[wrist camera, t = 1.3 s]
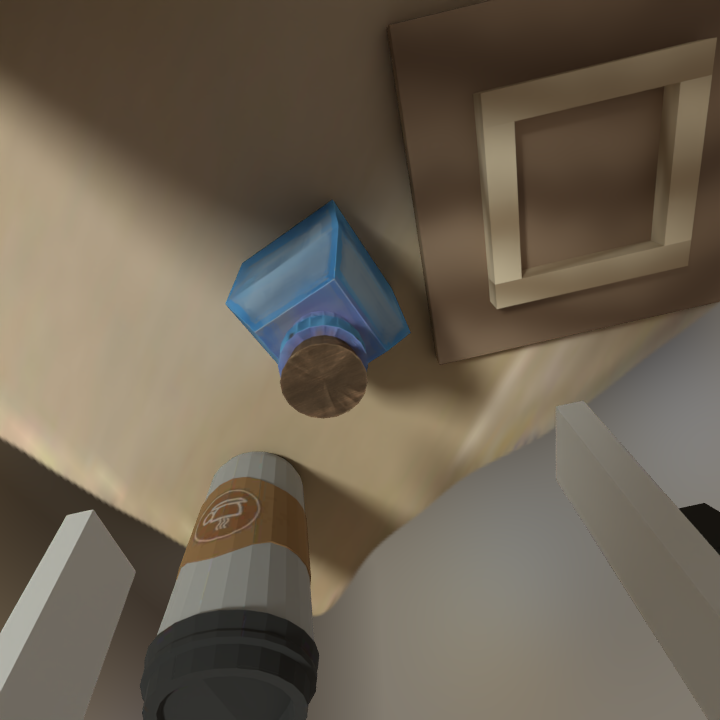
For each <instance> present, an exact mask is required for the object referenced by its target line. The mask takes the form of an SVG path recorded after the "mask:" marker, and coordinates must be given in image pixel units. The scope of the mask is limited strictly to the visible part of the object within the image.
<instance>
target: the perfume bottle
mask: <svg viewBox="0 0 720 720" xmlns="http://www.w3.org/2000/svg"><path fill="white" fill-rule="evenodd" d="M226 305H227V306H228V308H229V309H230V310H231V311H232V312H233V313H234V314H235V316H236V317H237V318H238V319H239V320H240V321H241V322H242V324H243V325H244V326H245V327H246V328H247V329H248V330H249V332H250V333H251V334H252V335H253V336H254V337H255V338H256V340H257V341H258V342H259V343H260V344H261V345H262V346H263V348H264V349H265V350H266V351H267V352H268V353H269V354H270V356H271V357H272V358H273V359H274V360H275V361H276V362H277V364H278V368H279V373H280V377H281V380H280V384H281V389H282V393H283V395H284V397H285V399H286V400H287V402H288V403H289V405H291V406H292V407H293V408H294V409H296V410H297V411H298V412H300V413H302V414H305V415H307V416H310V417H316V418H330V417H337V416H339V415H342V414H344V413H346V412H349V411H350V410H351V409H352V408H353V407H355V406H356V405H357V404H358V403H359V402H360V400H361V399H362V397H363V396H364V394H365V391H366V387H367V383H368V381H367V373H366V372H367V368H368V363H369V362H371V361H372V360H374V359H375V358H377V357H379V356H380V355H382V354H384V353H385V352H387V351H388V350H389V349H391V348H392V347H393V346H394V345H396V344H397V343H398V342H400V341H401V340H402V339H403V338H405V337H406V336H407V335H408V334H410V333H411V332H410V330H409V327H408V325H407V323H406V320H405V318H404V316H403V313H402V311H401V309H400V307H399V304H398V302H397V300H396V297H395V295H394V293H393V290H392V288H391V287H390V285H389V284H388V282H387V281H386V279H385V278H384V276H383V275H382V273H381V272H380V270H379V269H378V267H377V266H376V264H375V263H374V261H373V260H372V258H371V257H370V255H369V254H368V252H367V251H366V249H365V248H364V246H363V245H362V243H361V242H360V240H359V239H358V237H357V236H356V234H355V233H354V231H353V230H352V228H351V226H350V225H349V223H348V222H347V220H346V219H345V217H344V216H343V214H342V213H341V211H340V210H339V208H338V207H337V205H336V204H335V202H334V201H333V200H331V201H330V202H328V203H327V204H326V205H324V206H323V207H321V208H320V209H318V210H317V211H316V212H314V213H313V214H311V215H310V216H309V217H307V218H306V219H304V220H303V221H302V222H300V223H299V224H297V225H296V226H294V227H293V228H292V229H290V230H289V231H287V232H286V233H285V234H283V235H282V236H280V237H279V238H278V239H276V240H275V241H273V242H272V243H270V244H269V245H268V246H266V247H265V248H263V249H262V250H261V251H259V252H258V253H256V254H255V255H253V256H252V257H251V258H249V259H248V260H246V261H245V262H244V263H242V265H241V268H240V270H239V273H238V275H237V277H236V280H235V282H234V285H233V287H232V289H231V292H230V294H229V297H228V299H227V301H226Z"/></svg>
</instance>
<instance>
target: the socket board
mask: <svg viewBox="0 0 720 720" xmlns="http://www.w3.org/2000/svg"><path fill="white" fill-rule="evenodd" d="M387 34H388V40H389V47H390V54H391V60H392V67H393V74H394V80H395V87H396V94H397V100H398V107H399V114H400V120H401V127H402V134H403V140H404V147H405V154H406V160H407V167H408V174H409V180H410V187H411V194H412V200H413V207H414V214H415V220H416V227H417V234H418V240H419V247H420V254H421V260H422V267H423V274H424V280H425V287H426V294H427V300H428V307H429V314H430V320H431V327H432V334H433V340H434V347H435V354H436V358H437V360H438V362H439V364H440V365H441V364H445V363H450V362H454V361H459V360H463V359H468V358H472V357H476V356H481V355H485V354H490V353H494V352H498V351H503V350H507V349H512V348H516V347H521V346H525V345H529V344H534V343H538V342H543V341H547V340H552V339H556V338H560V337H565V336H569V335H574V334H578V333H583V332H587V331H591V330H596V329H600V328H605V327H609V326H613V325H618V324H622V323H627V322H631V321H636V320H640V319H644V318H649V317H653V316H658V315H662V314H667V313H671V312H675V311H680V310H684V309H689V308H693V307H697V306H702V305H706V304H711V303H715V302H720V0H491V1H486V2H482V3H478V4H474V5H470V6H466V7H462V8H457V9H453V10H449V11H445V12H441V13H437V14H432V15H428V16H424V17H420V18H416V19H412V20H408V21H403V22H399V23H395V24H391V25H389V26H388V27H387Z"/></svg>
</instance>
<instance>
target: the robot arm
mask: <svg viewBox="0 0 720 720" xmlns="http://www.w3.org/2000/svg"><path fill="white" fill-rule="evenodd" d="M556 480H557V482H558V484H559V485H560V487H561V488H562V490H563V492H564V493H565V495H566V496H567V498H568V499H569V501H570V503H571V504H572V506H573V507H574V509H575V511H576V512H577V513H578V515H579V517H580V518H581V520H582V522H583V523H584V525H585V526H586V528H587V529H588V531H589V533H590V534H591V536H592V537H593V539H594V541H595V542H596V544H597V545H598V547H599V548H600V550H601V552H602V553H603V555H604V556H605V558H606V560H607V561H608V563H609V564H610V566H611V567H612V569H613V571H614V572H615V574H616V575H617V577H618V579H619V580H620V582H621V583H622V585H623V586H624V588H625V590H626V591H627V592H628V594H629V596H630V597H631V599H632V601H633V602H634V604H635V605H636V607H637V609H638V610H639V612H640V613H641V615H642V616H643V618H644V620H645V621H646V622H647V624H648V626H649V627H650V629H651V630H652V632H653V634H654V635H655V637H656V638H657V640H658V642H659V643H660V645H661V646H662V648H663V650H664V651H665V653H666V654H667V656H668V657H669V659H670V661H671V662H672V664H673V665H674V667H675V669H676V670H677V672H678V673H679V675H680V676H681V678H682V680H683V681H684V683H685V684H686V686H687V687H688V689H689V691H690V692H691V694H692V695H693V697H694V698H695V700H696V702H697V703H698V705H699V706H700V708H701V709H702V711H703V713H704V714H705V716H706V717H707V719H708V720H720V512H719V511H717V510H715V509H714V508H712V507H710V506H709V505H707V504H705V503H703V504H698V505H693V506H688V507H684V508H679V509H678V508H677V506H676V505H675V504H674V503H673V502H672V501H671V500H670V499H669V497H668V496H667V495H666V494H665V493H664V492H663V491H662V489H661V488H660V487H659V486H658V485H657V484H656V483H655V481H654V480H653V479H652V478H651V477H650V476H649V475H648V473H647V472H646V471H645V470H644V469H643V468H642V467H641V466H640V464H639V463H638V462H637V461H636V460H635V459H634V458H633V456H632V455H631V454H630V453H629V452H628V451H627V450H626V448H625V447H624V446H623V445H622V444H621V443H620V442H619V441H618V439H617V438H616V437H615V436H614V435H613V434H612V433H611V432H610V430H609V429H608V428H607V427H606V426H605V425H604V424H603V422H602V421H601V420H600V419H599V418H598V417H597V416H596V414H595V413H594V412H593V411H592V410H591V409H590V408H589V406H588V405H587V404H586V403H585V402H584V401H579V402H575V403H570V404H566V405H561V406H557V407H556ZM135 572H136V571H135V570H134V568H133V567H132V565H131V564H130V562H129V561H128V559H127V558H126V557H125V555H124V554H123V552H122V551H121V549H120V548H119V546H118V545H117V544H116V542H115V541H114V539H113V538H112V536H111V535H110V533H109V532H108V530H107V529H106V527H105V526H104V524H103V523H102V521H101V520H100V519H99V517H98V516H97V514H96V513H95V511H94V510H89V511H84V512H80V513H75V514H71V515H67V516H66V518H65V520H64V521H63V523H62V525H61V527H60V528H59V530H58V532H57V534H56V536H55V537H54V539H53V541H52V543H51V544H50V546H49V548H48V550H47V552H46V553H45V555H44V557H43V559H42V560H41V562H40V564H39V566H38V567H37V569H36V571H35V573H34V574H33V576H32V578H31V580H30V582H29V583H28V585H27V587H26V589H25V590H24V592H23V594H22V596H21V597H20V599H19V601H18V603H17V605H16V606H15V608H14V610H13V612H12V614H11V615H10V617H9V619H8V621H7V622H6V624H5V626H4V628H3V629H2V631H1V633H0V720H83V718H84V715H85V712H86V710H87V707H88V704H89V702H90V699H91V696H92V693H93V690H94V687H95V684H96V682H97V679H98V676H99V673H100V671H101V668H102V665H103V662H104V659H105V657H106V654H107V651H108V648H109V645H110V643H111V640H112V637H113V634H114V631H115V628H116V626H117V623H118V620H119V617H120V614H121V612H122V609H123V606H124V603H125V600H126V598H127V595H128V592H129V589H130V586H131V583H132V581H133V578H134V575H135Z"/></svg>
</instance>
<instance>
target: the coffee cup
mask: <svg viewBox="0 0 720 720" xmlns="http://www.w3.org/2000/svg"><path fill="white" fill-rule="evenodd" d="M176 579H177V581H176V584H175V587H174V590H173V592H172V595H171V598H170V601H169V604H168V606H167V609H166V612H165V615H164V618H163V621H162V623H161V626H160V629H159V632H158V634H157V637H156V638H155V639H154V640H153V642H152V643H151V644H150V645H149V647H148V650H147V654H146V657H145V667H144V668H145V669H144V673H143V676H142V679H141V684H140V688H141V694H142V699H143V700H144V706H143V712H142V714H143V720H306V718H307V712H308V704H309V703H310V701H311V699H312V697H313V696H314V694H315V692H316V682H317V669H318V661H319V653H318V650H317V647H316V644H315V642H314V632H313V618H312V604H311V590H310V582H311V571H310V558H309V545H308V533H307V520H306V516H305V507H304V493H303V484H302V481H301V477H300V476H299V474H298V473H297V471H296V470H295V469H294V468H293V466H292V465H291V464H290V463H289V462H287V461H286V460H285V459H283V458H281V457H279V456H277V455H275V454H271V453H267V452H249V453H243V454H240V455H238V456H236V457H234V458H232V459H231V460H229V461H228V462H227V463H225V464H224V465H223V466H222V467H220V468H219V470H218V471H217V473H216V474H215V475H214V478H213V480H212V483H211V486H210V489H209V492H208V494H207V497H206V500H205V502H204V504H203V506H202V507H201V510H200V513H199V515H198V518H197V521H196V524H195V526H194V529H193V532H192V535H191V537H190V540H189V543H188V546H187V548H186V551H185V554H184V557H183V559H182V562H181V565H180V568H179V571H178V575H177V578H176Z"/></svg>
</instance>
